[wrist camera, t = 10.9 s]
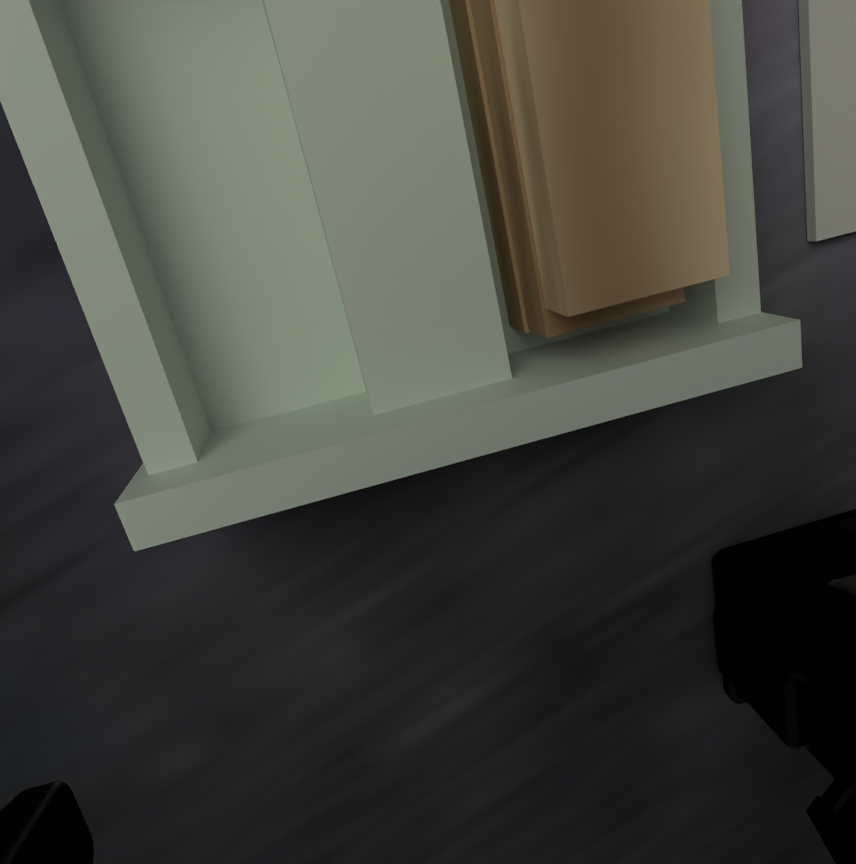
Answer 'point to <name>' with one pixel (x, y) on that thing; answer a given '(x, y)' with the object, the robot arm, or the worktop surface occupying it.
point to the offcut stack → (595, 153)
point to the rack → (326, 251)
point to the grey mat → (829, 115)
